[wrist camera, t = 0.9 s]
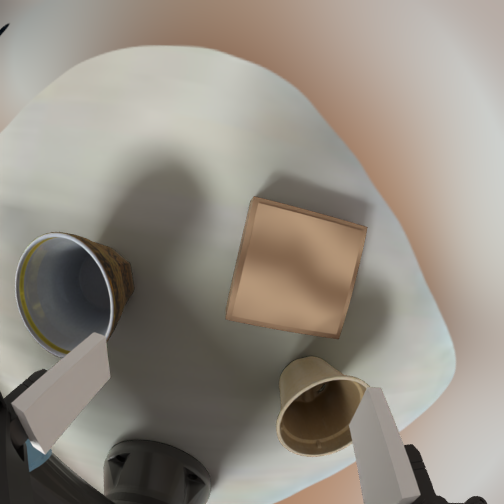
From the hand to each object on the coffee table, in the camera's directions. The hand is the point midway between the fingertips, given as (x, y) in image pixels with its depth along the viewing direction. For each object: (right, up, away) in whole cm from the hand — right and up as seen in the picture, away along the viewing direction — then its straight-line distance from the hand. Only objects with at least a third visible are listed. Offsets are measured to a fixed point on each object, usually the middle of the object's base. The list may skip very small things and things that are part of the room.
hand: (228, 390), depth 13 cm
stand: (+5, +5, +17) cm, 18 cm away
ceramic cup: (-14, +2, +15) cm, 21 cm away
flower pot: (+7, -8, +18) cm, 21 cm away
